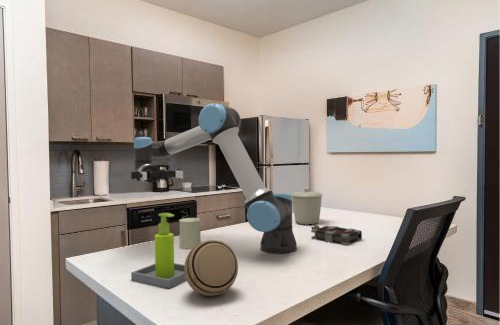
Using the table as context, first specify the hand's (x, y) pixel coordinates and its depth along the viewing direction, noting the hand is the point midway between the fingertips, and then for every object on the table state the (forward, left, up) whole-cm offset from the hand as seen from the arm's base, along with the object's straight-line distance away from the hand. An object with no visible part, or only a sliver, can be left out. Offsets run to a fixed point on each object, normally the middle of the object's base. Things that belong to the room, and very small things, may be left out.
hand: (164, 175), depth 127 cm
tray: (-11, +12, -32) cm, 36 cm away
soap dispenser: (-11, +12, -32) cm, 36 cm away
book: (-43, -63, -33) cm, 83 cm away
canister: (-21, -93, -32) cm, 100 cm away
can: (+7, -23, -32) cm, 40 cm away
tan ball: (-32, +16, -32) cm, 48 cm away
